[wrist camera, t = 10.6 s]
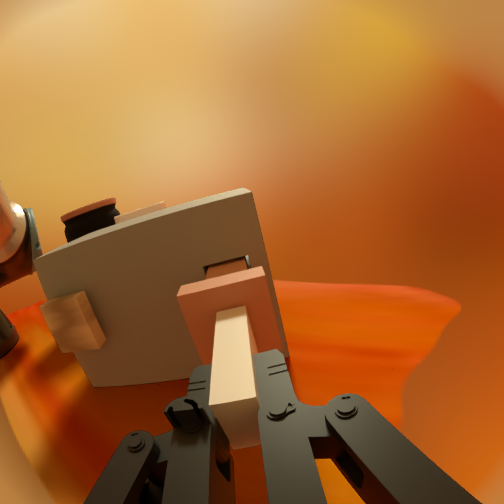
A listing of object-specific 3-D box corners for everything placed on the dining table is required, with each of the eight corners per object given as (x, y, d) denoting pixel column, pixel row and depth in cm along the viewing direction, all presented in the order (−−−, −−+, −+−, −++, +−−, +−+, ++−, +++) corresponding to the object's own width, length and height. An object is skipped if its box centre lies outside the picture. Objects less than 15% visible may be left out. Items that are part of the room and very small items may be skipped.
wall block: (93, 387, 22) (32, 260, 19) (126, 331, 34) (89, 233, 30) (289, 356, 23) (251, 191, 19) (270, 300, 34) (243, 187, 30)
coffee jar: (156, 295, 46) (124, 193, 41) (104, 322, 38) (65, 212, 33) (132, 288, 53) (104, 203, 48) (88, 310, 45) (56, 220, 41)
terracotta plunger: (203, 366, 15) (176, 296, 14) (214, 286, 27) (200, 242, 26) (282, 349, 15) (265, 275, 14) (260, 275, 27) (248, 229, 26)
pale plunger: (62, 353, 19) (39, 306, 18) (109, 298, 31) (96, 263, 30) (100, 348, 19) (76, 297, 18) (141, 290, 31) (128, 254, 30)
